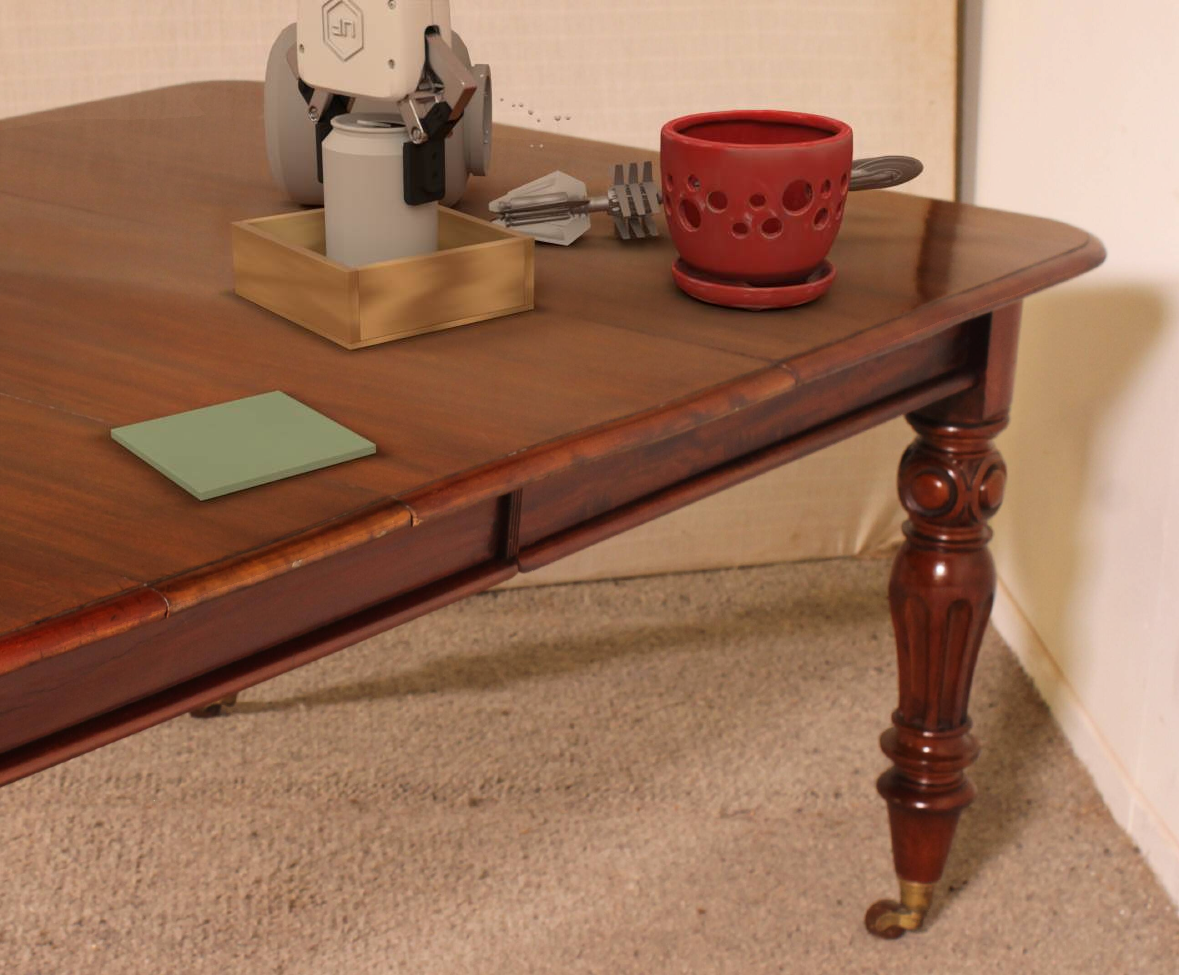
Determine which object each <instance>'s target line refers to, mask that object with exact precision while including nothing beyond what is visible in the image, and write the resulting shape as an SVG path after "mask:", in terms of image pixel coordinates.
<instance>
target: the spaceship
mask: <svg viewBox="0 0 1179 975" xmlns="http://www.w3.org/2000/svg"><path fill="white" fill-rule="evenodd" d="M607 170H608V174H609V175H610V178H611V181H612V183H611V184H609V185H610V187H608V188H606V190H605V195H601V196H600V195H599V196H588V192H587V185H586V183H585V182H583V181H582V180H579V179H577V178H575V177H573V176H571V175H569V174H567V173H565V172H562V171H560V170H556V171H553V172H551V173H548V174H546V175H544V176H542V177H540V178H537V179H535V180H532V181H531V182H528V183H526V184H523V185H521V186H519V187H516V188H514V189H512V190H509V191H508V192H507V194H506V195H503V196H501V197H499V198H496V199H493V200H492V201H490V202H488V210H489V211H490V213H489V214H490V215H498V214H499V216H498V217H492V218H489V221H491V223H494V224H497V225H500V226H503V227H506V228H509V229H512V230H515V231H518V232H521V233H523V234H526V235H529V236H532V237H535V241H538V242H545V243H550V244H556V245H562V246H566V247H568V246H569V245H571V243H573V242H574V241H575V240H577V239H578V238H580V237H581V236H582V235H583V234H584V233H585V232H587V231H588V230H589V229H590V228H591V218H590V214H592V213H593V214H594V213H599V212H606V215H607V216H609V217H611V218H609V221H613V229H614V237H615V239H617V238H622V239H623V240H629V239H631V237H634V236H636V238H645V237H646V235H649V234H650V235H651V236H652V237H655V236H656V237H657V236H659V235H660V233H659V230H658V228H657V225H656V222H655V220H654V216H655V215H654V214H660V213H661V211H660V210H661V209H660V205H663V198H662V189H659V188H658V185H657V184H655V182H656V180H655V179H653V162H652V160H648V161H644V162H643V161H639V162H630V163H621V164H620V163H619V164H615V165H614V164H613V165H611V164H610V165H607ZM923 171H924V164H923V163H922V162H921V161H920V160H919V159H917V158H915V157H912V156H907V155H882V156H875V157H867V158H857V159H854V160H853V161H852V171H851V179H850V185H849V190H848V192H860V191H870V190H871V191H872V190H882V189H884V190H885V189H889V188H894V187H898V186H900V185H903V184H905V183H908V182H911V181H913V180H914V179H915V178H917V177H919V176H920V175H921V174H922V173H923ZM639 177H640V180H639ZM625 179H626V181H627V182H625ZM695 188H696V189H698V188H699V182H698V180H697V181H696V183H695ZM809 192H810V190H809ZM639 218H641V222H640V219H639ZM626 221H627V223H626Z"/></svg>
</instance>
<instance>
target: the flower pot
mask: <svg viewBox="0 0 1179 975" xmlns="http://www.w3.org/2000/svg"><path fill="white" fill-rule="evenodd" d="M659 141H660V142H659V170H660V179H661V181H660V182H661V190H662V198H663V204H662V206H663V211H664V216H665V220H666V224H667V228H668V230H669V234H670V237H671V239H672V242H673V244H674V246H675V248H676V250H677V252H678V254H679V255H678V256H676V257H675V258H674V259H673V261H672V263H671V265H670V272H671V273H670V274H671V277H672V278H673V280H674V282H675V283H676V285H677V286H678V287H679V288H680V289H681V290H682V291H683V292H685V293H686V294H687V295H688V296H690V297H693V298H695V299H696V300H699V301H702V302H703V303H704V302H705V303H708V304H712V305H717V306H722V307H728V308H736V309H746V310H747V311H751V312H759V311H761V310H769V309H770V310H771V309H782V308H791V307H795V306H800V305H803V304H806V303H809V302H811V301H813V300H815V299H817V298H819V297H820V296H822V295H823V294H824V293H825V292H827V291H828V289H829V288H830V287H831V286H832V285H833V283H834V281H835V279H836V277H837V276H836V275H837V269H836V267H835V265H834V264H833V263H832V262H831V261H829V260H828V259H827V258H826V257H827V256H828V254H829V252H830V250H831V249H832V247H833V245H834V243H835V240H836V238H837V236H838V233H839V231H840V228H841V225H842V221H843V217H844V212H845V207H846V202H847V197H848V194H849V191H848V190H849V185H850V179H851V171H852V161H853V159H854V131H853V128H852V127H851V126H850V125H849V124H847V123H846V122H844V121H842V120H840V119H836V118H833V117H830V116H826V115H820V114H815V113H808V112H801V111H800V112H799V111H792V110H779V109H732V110H731V109H730V110H717V111H709V112H708V111H707V112H700V113H693V114H688V115H683V116H680V117H678V118H677V117H676V118H673V119H671V120H669V121H667V122H666V123H664V124H663V125H662V126H661V129H660V140H659ZM697 180H698V182H699V188H698V189H696V188H695V183H696V181H697ZM809 190H810V192H809Z"/></svg>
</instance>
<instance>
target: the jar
mask: <svg viewBox="0 0 1179 975" xmlns="http://www.w3.org/2000/svg"><path fill="white" fill-rule="evenodd" d="M296 41H297V21H296V22H292V23H290V24H288V25H287V26H285V28H283V29H282V30H281V31H280V32H279V34H278V36H277V37H276V39H275V41H274V42H273V43H272V46H271V49H270V51H269V54H268V59H267V63H266V70H265V75H264V76H265V77H264V86H263V87H264V89H263V90H264V91H263V123H264V124H263V125H264V138H265V146H266V147H265V149H266V155H267V159H268V163H269V164H268V165H269V169H270V172H271V174H272V177H273V179H274V181H275V183H276V185H277V186H278V189H280V191H281V193H282V194H283V195H284V196H285V197H286V198H287V199H288V200H290V201H291V202H293V203H294V204H300V205H306V206H307V205H308V206H310V205H311V206H324V184H322V183H320V182H319V181H318V177H317V154H316V132H315V124H317V122H315V123H314V122H312V121H311V120H310V119H309V116H308V107H309V106H308V104H307V103H306V101H305V99H304V98H303V96H302V95H301V93H300V91H299V89H298V81H299V80H296V78H295V76H294V74H293V72H292V70H291V68H290V66H289V63H288V61H287V59H286V53H287V51H288V50H289V49H290V48H291V47H292V45H293V44H294V43H295V42H296ZM451 42H452V51H453V52H454V54H455V55H456V56H457V57H458V58H459V60H460V61H461V62H462V63H463V65H464V66H465V67H466V68H467V69H468V71H469V72H470V73H471V74H472V76H473V77H474V78H475V80H476V81H477V89H476V91H475V93H474V95H473V97H472V98H471V100H470V102H469V103H468V105H467V107H466V108H464V115H463V117H462V118H461V119H460V121H459V122H458V123H457V124H456V125H455V127H454V128H453V135H452V136H451V137H450V138H448V139H445V197H444V198H443V199H442V200H438V205H441V206H444V207H447V208H451V207H452V206H454V205H456V204H457V203H458V202H459V200H460V199H461V197H462V196H463V195H464V193H465V192H466V189H467V185H468V182H469V178H470V176H471V174H472V176H473V177H488V175H489V170H490V163H491V152H492V139H493V137H492V136H493V135H492V134H493V85H492V84H493V83H492V74H491V67H490V65H489V63H475V64H474V65H472V63H471V58H470V54H469V50H468V46H467V45H466V44H465V42H464V41H463V39H462V38H461V36H460V34H458V33H457V32H455V31H454V30H453V29H452V28H451ZM336 95H337V94H336ZM440 95H442V94H440ZM441 98H442V96H441ZM500 101H501V102H504V98H503V97H500ZM518 106H519V107H520V108H524V103H523V102H519V104H518ZM418 107H419V109H420V112H421V114H422V117H423V118H424V117H425V116H426V114H427V112H426V109H425V106H424V104H418ZM511 107H512V108H515V107H516V104H515V103H512V104H511ZM358 112H397V113H400V111H399V108H398V106H397V103H396V102H393V103H385V102H378V101H372V100H366V99H361V98H356V99H355V102H354V104H353V107H352V110H351V112H350V113H358ZM527 113H528V115H531V116H532V115H533V114H534V109H528V111H527ZM561 119H562V117H561V114H558V113H557V114H555V115H554V120H555V121H557V122H559V121H560V120H561ZM565 120H566V121H569V120H571V115H570V114H566V115H565ZM536 121H537V123H540V122H541V119H540V118H537V119H536ZM529 148H531V149H534V145H533V144H530V146H529ZM538 148H539V150H540V149H543V148H544V145H543V144H539V145H538Z"/></svg>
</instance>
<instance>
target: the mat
mask: <svg viewBox="0 0 1179 975" xmlns="http://www.w3.org/2000/svg"><path fill="white" fill-rule="evenodd" d="M110 436H111V439H113V440H114V441H116V442H117V443H118V444H120V445H121V446H122V447H124V448H125V449H127V450H128V451H130V452H131V453H132V454H134V455H135V456H136V457H138V458H139V459H141V460H142V461H143V462H145V463H146V464H148V465H149V466H151V467H152V468H154V469H155V470H156V471H158V472H159V473H161V474H162V475H163V476H165V477H166V478H168V479H169V480H170V481H172V482H173V483H175V484H176V485H178V486H179V487H181V488H182V490H185V491H187V493H189V494H191V495H192V496H193V497H194V498H196V499H197V500H199V501H201V502H203V501H206V500H211V499H214V498H217V497H221V496H224V495H229V494H232V493H235V492H239V491H243V490H247V489H250V488H254V487H257V486H260V485H261V486H262V485H265V484H268V483H269V484H270V483H272V482H275V481H279V480H282V479H287V478H291V477H293V476H294V477H295V476H298V475H301V474H304V473H309V472H311V471H312V472H313V471H315V470H320V469H322V468H327V467H330V466H334V465H338V464H341V463H344V462H347V461H348V462H350V461H352V460H355V459H356V460H357V459H360V458H363V457H367V456H370V455H374V454H376V453H377V444H376V443H374V442H372V441H370V440H368V439H366V438H365V437H364V436H361V435H359V434H358V433H357V432H354V431H352V430H351V429H349V428H347V427H346V426H343V425H342V424H340V423H338V422H336V421H334V420H332V419H331V418H329V417H327V416H325V415H324V414H322V413H320V412H318V411H316V410H315V409H313V408H311V407H309V406H307V405H306V404H304V403H302V402H300V401H299V400H297V399H295V398H293V397H291V396H289V395H288V394H286V393H285V392H282V391H281V390H274V391H270V392H266V393H260V394H257V395H252V396H247V397H244V398H240V399H236V400H232V401H227V402H222V403H219V404H218V403H217V404H214V405H209V406H205V407H201V408H198V409H193V410H189V411H188V410H187V411H185V412H180V413H176V414H172V415H167V416H163V417H159V418H154V419H150V420H146V421H141V422H137V423H133V424H128V425H125V426H124V425H123V426H121V427H115V428H111V429H110Z"/></svg>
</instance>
